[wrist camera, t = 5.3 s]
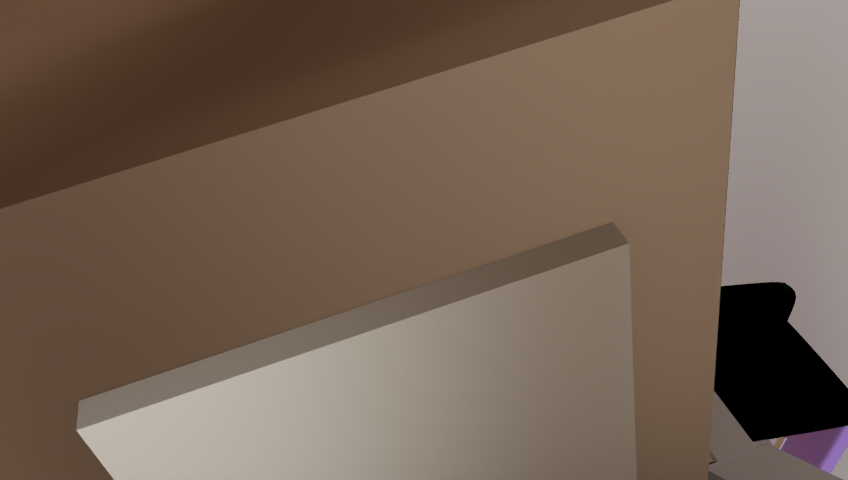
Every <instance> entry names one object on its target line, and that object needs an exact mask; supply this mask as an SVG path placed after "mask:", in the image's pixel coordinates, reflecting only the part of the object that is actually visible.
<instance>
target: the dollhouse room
mask: <svg viewBox="0 0 848 480" xmlns="http://www.w3.org/2000/svg"><path fill="white" fill-rule="evenodd" d="M795 299H796V295H795V291H794V290H793V289H792V288H791V287H790V286H789V285H787V284H786V283H781V282H764V283H751V284H741V285H730V286H721V290H720V305H719V320H718V335H717V350H716V365H715V380H714V391H715V392H716V394H717V395H718V396H719V398H720V399H721V400H722V402H723V403H724V404H725V406H726V407H727V408H728V410H729V411H730V412H731V414H732V415H733V416H734V418H735V419H736V420H737V422H738V423H739V424H740V426H741V427H742V428H743V430H744V431H745V432H746V434H747V435H748V436H749V438H750V439H751V440H752V442H753V443H754V444H755V446H756V447H759V446H762V445H765V444H769V445H772V446H773V444H772V443H771V442H770V441H769V439H774V438H778V439H777V441H776V443H775V445H774V447H776V448H778V449H780V450H782V451H784V452H786V453H788V454H790V455H792V456H795V457H797V458H799V459H801V460H803V461H805V462H807V463H809V464H811V465H813V466H815V467H817V468H820V469H822V470H824V471H826V472H828V473H831V472H832V470H833V469H834V467H835V465H836V464H837V462H838V461H839V459H840V457H841V456H842V454H843V453H844V451H845V449H846V448H847V446H848V388H847V387H846V386H845V385H844V384H843V383H842V381H841V380H840V379H839V378H838V377H837V376H836V374H835V373H834V372H833V371H832V370H831V369H830V368H829V366H828V365H827V364H826V363H825V362H824V361H823V360H822V359H821V357H820V356H819V355H818V354H817V353H816V352H815V351H814V350H813V349H812V347H811V346H810V345H809V344H808V343H807V342H806V341H805V340H804V339H803V338H802V336H801V335H800V334H799V333H798V332H797V331H796V330H795V329H794V328H793V327H792V326H791V325H790V324H789V323H788V321H787V320H788V318H789V316H790V314H791V311H792V309H793V306H794V304H795Z"/></svg>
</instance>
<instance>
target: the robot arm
mask: <svg viewBox="0 0 848 480" xmlns="http://www.w3.org/2000/svg"><path fill="white" fill-rule="evenodd" d="M708 480H842V479H840V478H838V477H836V476H834V475H832V474H830V473H828V472H826V471H824V470H822V469H820V468H817V467H815V466H813V465H811V464H809V463H807V462H805V461H803V460H801V459H799V458H797V457H795V456H792V455H790V454H788V453H786V452H784V451H782V450H780V449H778V448H776V447H774V446H772V445H769V444H765V445H762V446H759V447H756V446H755V444H754V443H753V442H752V440H751V439H750V438H749V436H748V435H747V434H746V432H745V431H744V430H743V428H742V427H741V426H740V424H739V423H738V422H737V420H736V419H735V418H734V416H733V415H732V414H731V412H730V411H729V410H728V408H727V407H726V406H725V404H724V403H723V402H722V400H721V399H720V398H719V396H718V395H717V394H716V392H715V391H714V395H713V410H712V425H711V440H710V454H709V469H708Z"/></svg>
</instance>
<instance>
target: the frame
mask: <svg viewBox="0 0 848 480" xmlns="http://www.w3.org/2000/svg"><path fill="white" fill-rule="evenodd" d="M739 6H740V0H0V480H708V469H709V454H710V440H711V425H712V410H713V395H714V380H715V365H716V350H717V335H718V320H719V305H720V290H721V275H722V259H723V244H724V230H725V214H726V199H727V185H728V170H729V155H730V140H731V125H732V111H733V96H734V81H735V65H736V50H737V35H738V21H739Z"/></svg>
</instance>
